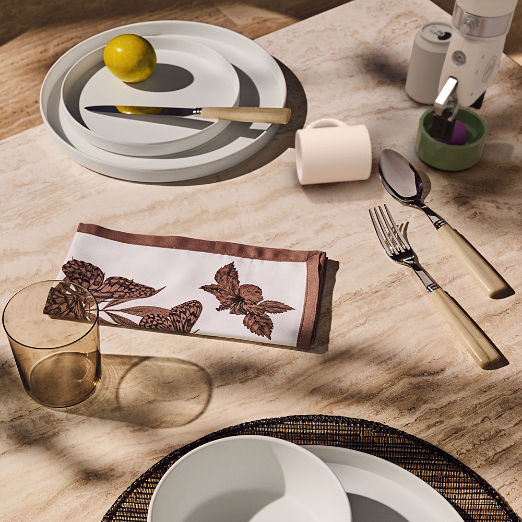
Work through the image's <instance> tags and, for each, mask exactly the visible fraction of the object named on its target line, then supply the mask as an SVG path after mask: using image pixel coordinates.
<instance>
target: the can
mask: <svg viewBox="0 0 522 522" xmlns="http://www.w3.org/2000/svg"><path fill="white" fill-rule="evenodd" d="M453 32H454V30H453V28H452V26H451V22H447V21H443V20H442V21H441V20H432V21H431V20H430V21H427V22H425V23H423V24H422V25H421V26H420V27H419V30H418V31H416V33H415V34H414V37H413V43H412V49H411V53H410V59H409V65H408V69H407V76H406V81H405V87H404V89H405V92H406V94H407V95H408V96H409V97H410V98H411V99H412V100H413V101H415V102H417V103H420V104H424V105H434V102H435V100H436V99H437V97H438V96H439V94H438V88H439V82H440V77H441V73H442V69H443V65H444V61H445V58H446V54H447V51H448V48H449V44H450V41H451V38H452V35H453Z"/></svg>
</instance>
